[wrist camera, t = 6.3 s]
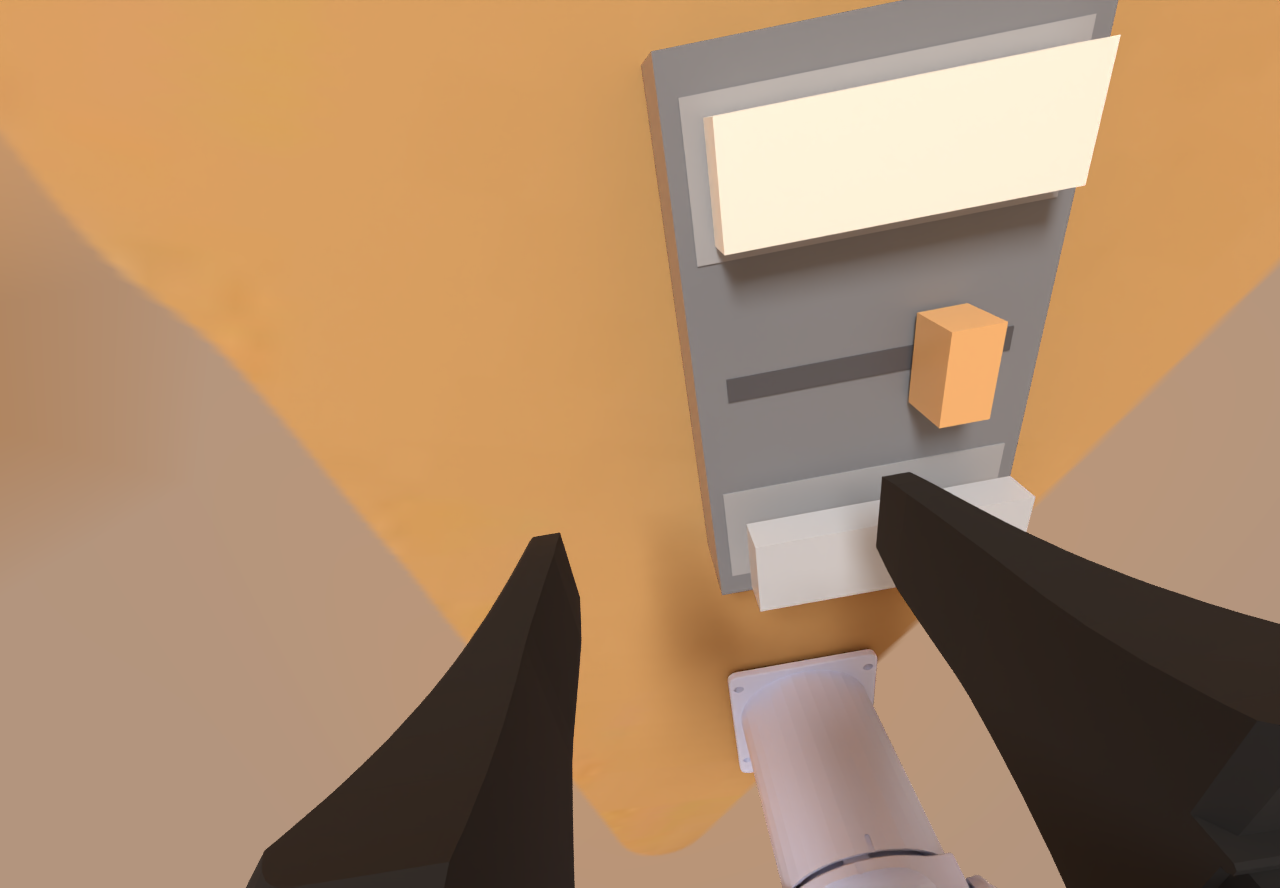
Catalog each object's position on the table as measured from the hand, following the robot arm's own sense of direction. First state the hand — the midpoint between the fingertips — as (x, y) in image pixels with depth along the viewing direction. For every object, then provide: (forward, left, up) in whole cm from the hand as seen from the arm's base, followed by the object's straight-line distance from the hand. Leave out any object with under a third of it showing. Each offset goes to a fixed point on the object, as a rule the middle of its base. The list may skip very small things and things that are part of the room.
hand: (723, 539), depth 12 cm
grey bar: (-5, -6, -5) cm, 9 cm away
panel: (+1, -6, -9) cm, 11 cm away
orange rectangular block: (+1, -8, -6) cm, 10 cm away
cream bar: (+7, -6, -6) cm, 11 cm away
